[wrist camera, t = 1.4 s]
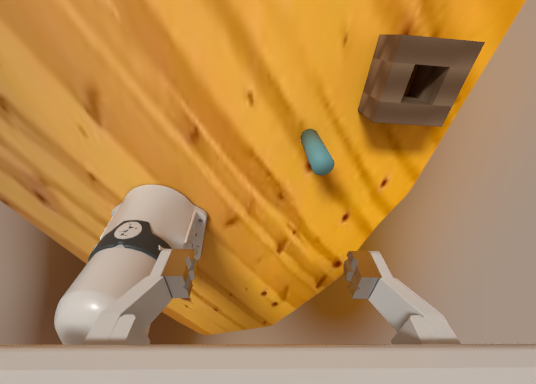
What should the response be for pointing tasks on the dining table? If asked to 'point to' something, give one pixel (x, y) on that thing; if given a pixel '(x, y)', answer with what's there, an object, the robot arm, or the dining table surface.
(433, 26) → the dining table surface
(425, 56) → the walnut hole block
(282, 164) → the dining table surface
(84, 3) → the dining table surface
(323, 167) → the teal peg
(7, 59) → the dining table surface
